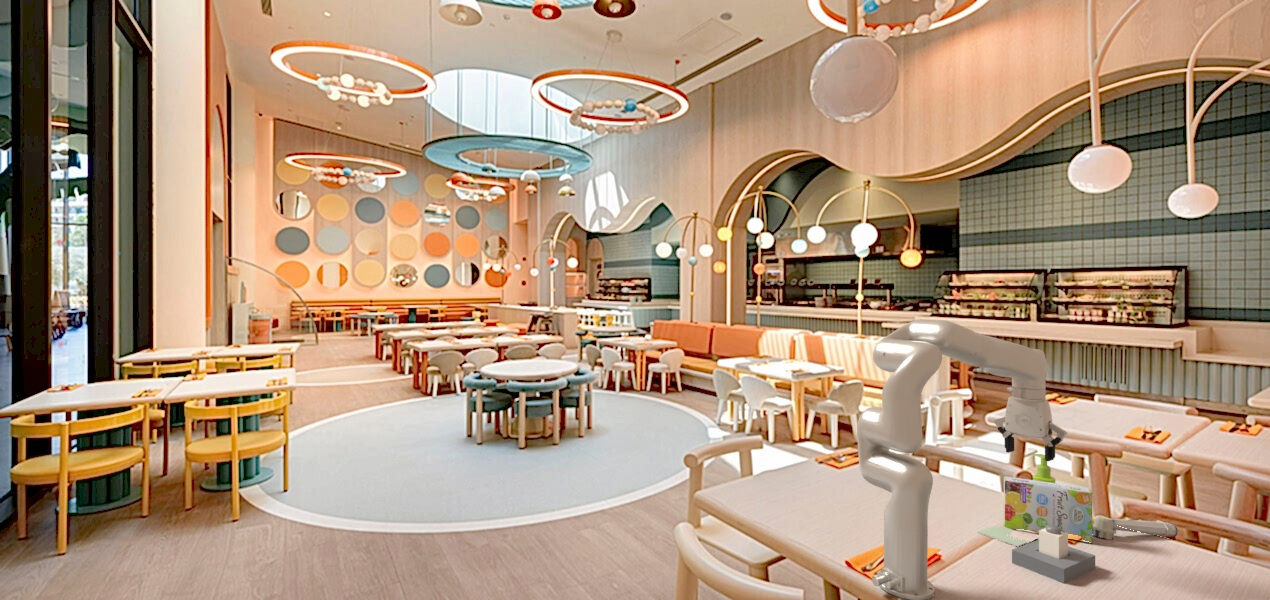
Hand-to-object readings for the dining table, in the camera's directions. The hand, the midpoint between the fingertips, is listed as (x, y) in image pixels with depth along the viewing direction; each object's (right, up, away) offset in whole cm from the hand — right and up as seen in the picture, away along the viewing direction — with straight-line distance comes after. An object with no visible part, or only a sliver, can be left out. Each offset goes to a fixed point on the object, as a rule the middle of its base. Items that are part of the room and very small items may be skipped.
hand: (1029, 455), depth 152 cm
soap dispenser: (+24, -28, +27) cm, 46 cm away
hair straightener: (+41, -28, +13) cm, 51 cm away
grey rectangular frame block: (+2, -27, -6) cm, 28 cm away
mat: (+3, -28, +13) cm, 30 cm away
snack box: (+16, -28, +15) cm, 35 cm away
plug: (+2, -28, -6) cm, 28 cm away
